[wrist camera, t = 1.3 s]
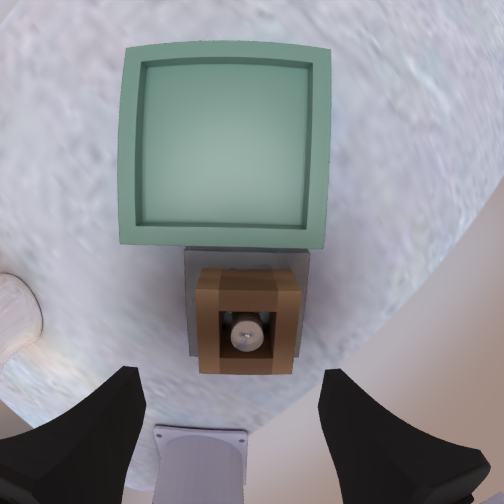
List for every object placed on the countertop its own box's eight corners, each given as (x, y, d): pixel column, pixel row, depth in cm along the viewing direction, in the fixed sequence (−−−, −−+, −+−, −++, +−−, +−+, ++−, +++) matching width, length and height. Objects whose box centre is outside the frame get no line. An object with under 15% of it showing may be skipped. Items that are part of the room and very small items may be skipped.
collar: (284, 345, 19) (291, 373, 16) (204, 344, 18) (199, 373, 16) (291, 270, 17) (301, 291, 14) (202, 268, 17) (195, 289, 14)
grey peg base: (295, 347, 20) (307, 388, 16) (191, 346, 20) (182, 387, 16) (305, 248, 18) (325, 272, 14) (187, 245, 18) (172, 269, 14)
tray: (314, 240, 18) (323, 248, 16) (131, 236, 18) (119, 244, 16) (321, 60, 15) (330, 49, 13) (136, 58, 15) (126, 48, 13)
